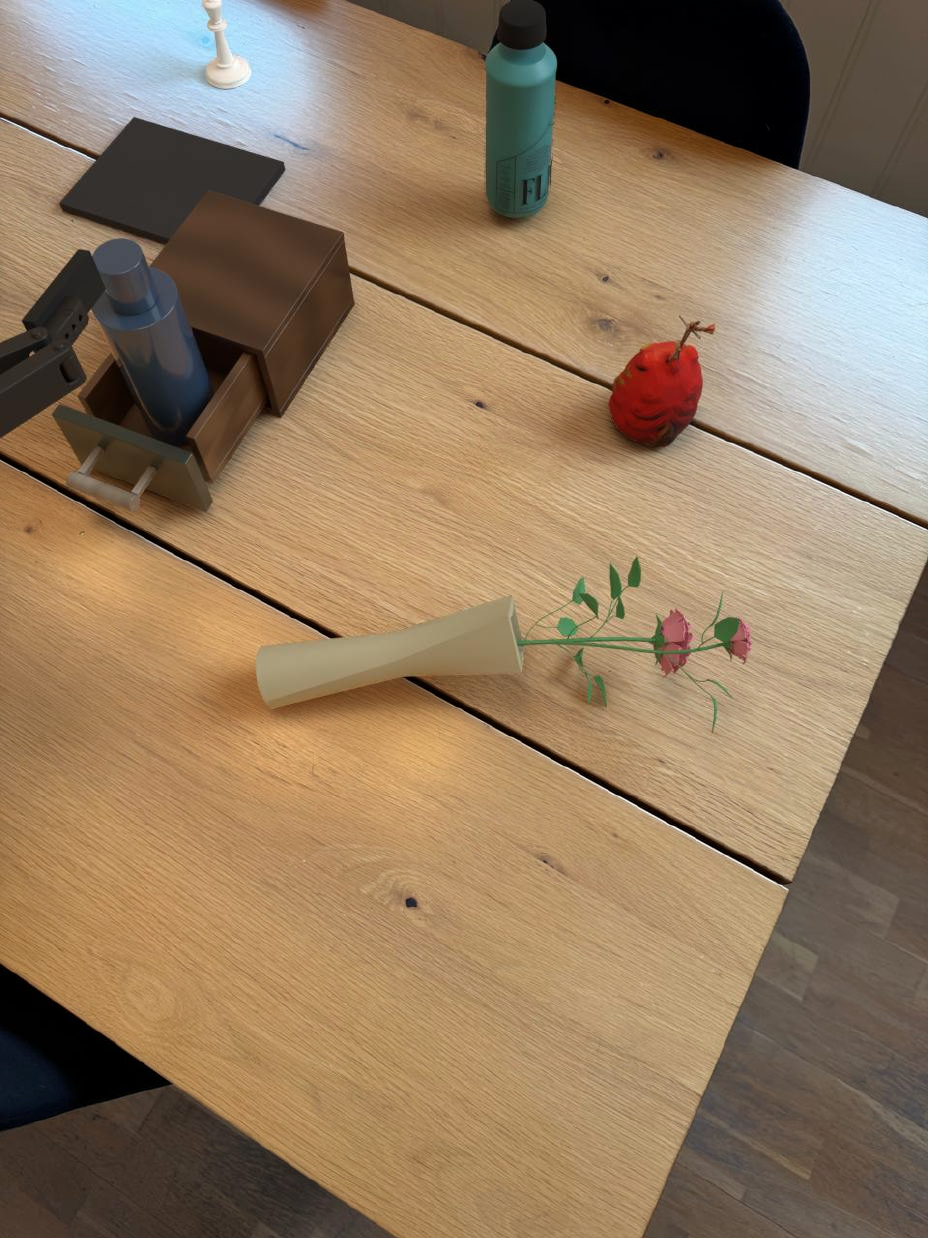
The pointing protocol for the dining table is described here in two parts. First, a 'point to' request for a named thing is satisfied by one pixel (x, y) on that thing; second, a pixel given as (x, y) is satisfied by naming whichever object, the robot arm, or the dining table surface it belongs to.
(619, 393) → the red fruit with stem
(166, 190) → the mat
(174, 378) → the blue bottle
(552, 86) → the beverage bottle
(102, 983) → the dining table surface
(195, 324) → the cabinet
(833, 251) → the dining table surface
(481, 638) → the flower vase
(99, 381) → the drawer
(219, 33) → the chess piece
